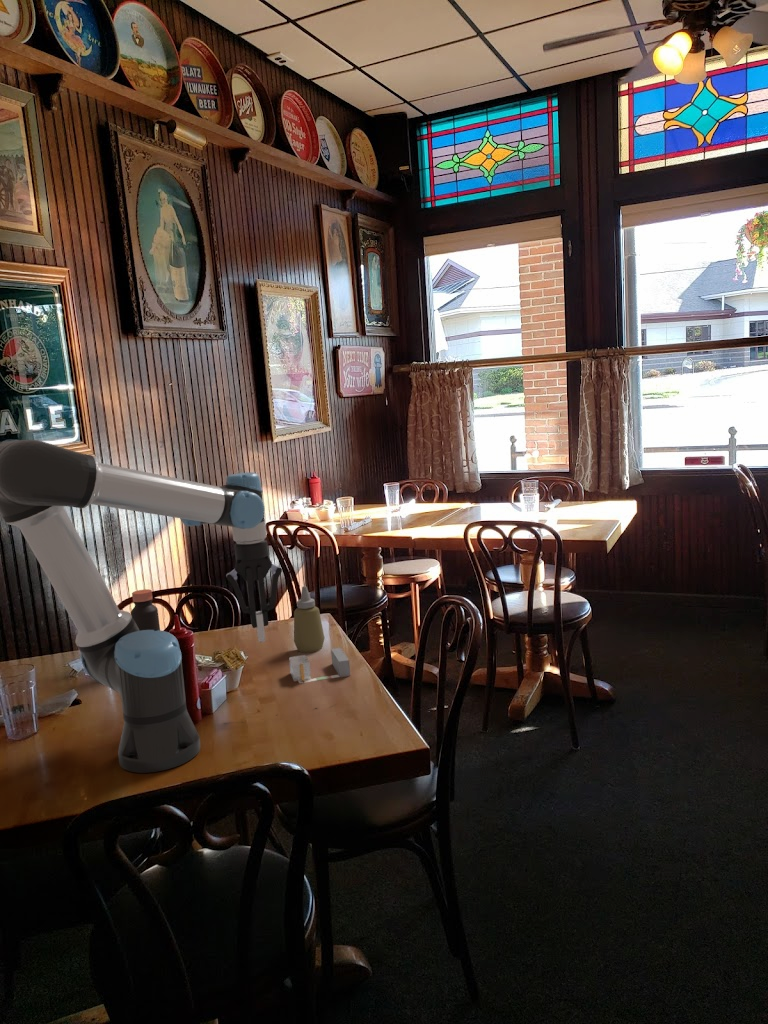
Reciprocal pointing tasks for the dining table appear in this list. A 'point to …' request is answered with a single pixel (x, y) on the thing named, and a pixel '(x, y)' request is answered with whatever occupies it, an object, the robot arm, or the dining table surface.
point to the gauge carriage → (300, 668)
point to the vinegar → (145, 611)
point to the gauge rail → (336, 665)
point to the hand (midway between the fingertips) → (261, 639)
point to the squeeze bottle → (307, 624)
